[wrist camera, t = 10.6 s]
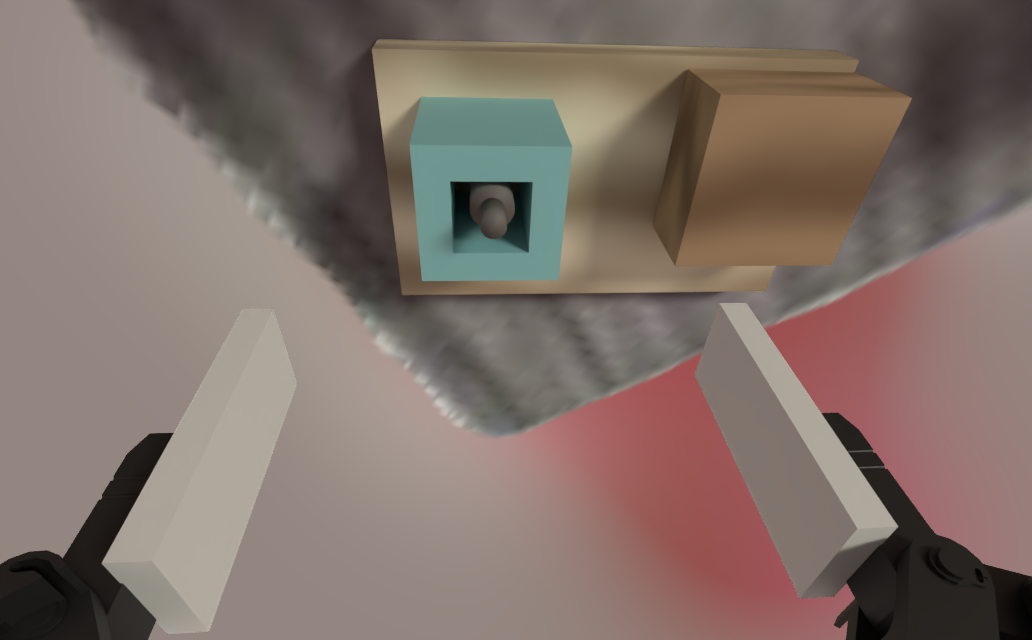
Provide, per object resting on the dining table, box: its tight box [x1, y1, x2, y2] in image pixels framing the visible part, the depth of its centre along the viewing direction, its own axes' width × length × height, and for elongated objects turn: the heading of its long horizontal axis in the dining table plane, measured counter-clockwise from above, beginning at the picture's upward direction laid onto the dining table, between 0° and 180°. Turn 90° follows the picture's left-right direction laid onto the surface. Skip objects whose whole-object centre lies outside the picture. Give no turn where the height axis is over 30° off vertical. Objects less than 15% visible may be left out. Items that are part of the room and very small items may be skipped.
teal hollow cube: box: [410, 97, 572, 281], centre depth 24 cm, size 6×6×6 cm
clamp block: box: [653, 69, 912, 266], centre depth 25 cm, size 8×8×4 cm
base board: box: [372, 39, 859, 295], centre depth 25 cm, size 13×22×10 cm, turn 89°
